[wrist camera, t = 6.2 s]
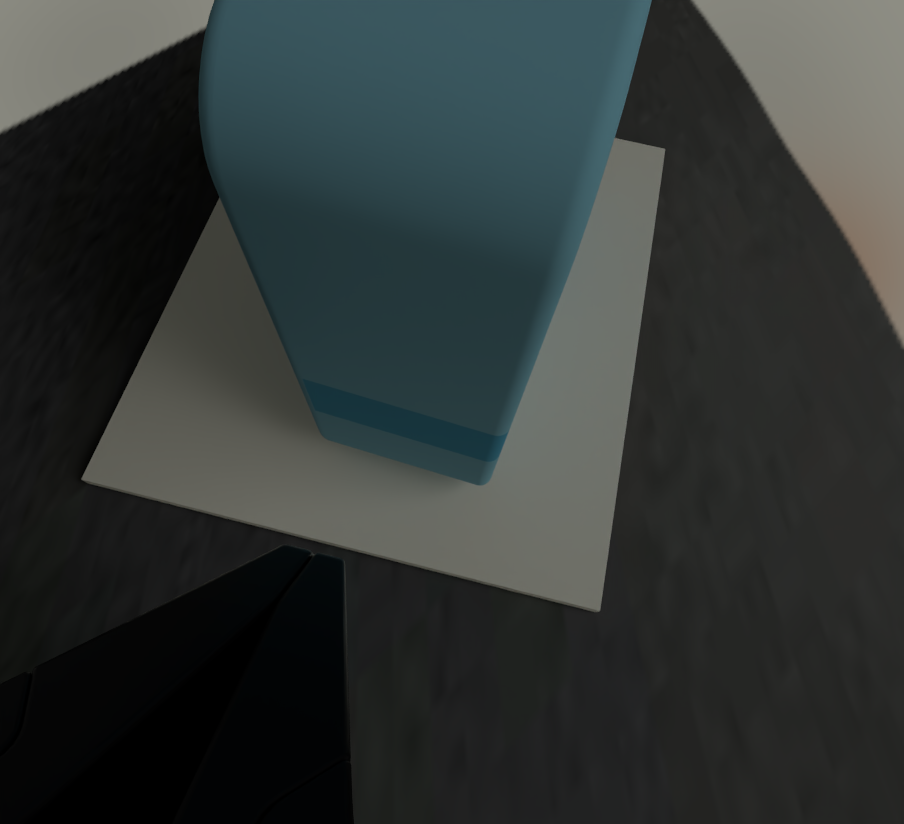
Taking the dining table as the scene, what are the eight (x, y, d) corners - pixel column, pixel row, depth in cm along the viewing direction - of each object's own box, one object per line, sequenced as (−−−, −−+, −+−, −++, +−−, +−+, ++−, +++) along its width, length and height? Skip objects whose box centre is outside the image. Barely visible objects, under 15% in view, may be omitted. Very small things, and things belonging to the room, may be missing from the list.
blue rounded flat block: (482, 502, 17) (606, 183, 6) (324, 455, 17) (147, 60, 6) (576, 174, 21) (748, -363, 10) (449, 140, 22) (482, -418, 10)
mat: (595, 612, 16) (599, 610, 16) (88, 483, 17) (80, 479, 16) (661, 157, 22) (665, 149, 22) (286, 75, 23) (283, 65, 22)
